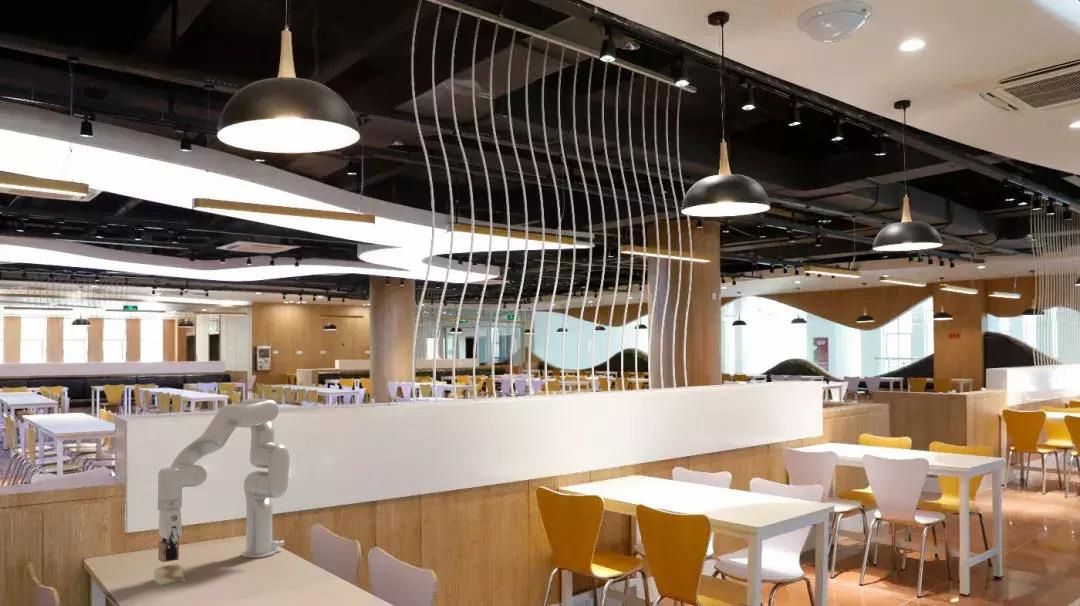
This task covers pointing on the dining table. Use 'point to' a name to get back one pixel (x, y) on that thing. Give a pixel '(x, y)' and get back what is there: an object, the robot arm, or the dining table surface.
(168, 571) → the maple block
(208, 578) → the dining table surface
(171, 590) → the dining table surface
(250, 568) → the dining table surface
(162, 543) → the walnut block
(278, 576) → the dining table surface
